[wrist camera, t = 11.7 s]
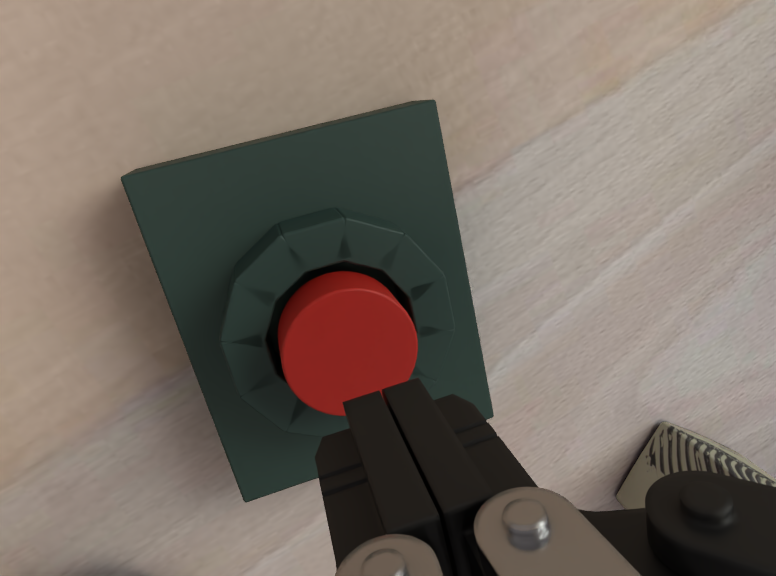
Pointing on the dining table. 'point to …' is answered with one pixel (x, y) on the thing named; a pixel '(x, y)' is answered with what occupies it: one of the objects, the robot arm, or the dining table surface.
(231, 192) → the button box
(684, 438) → the box
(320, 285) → the button
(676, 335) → the dining table surface
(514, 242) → the dining table surface
